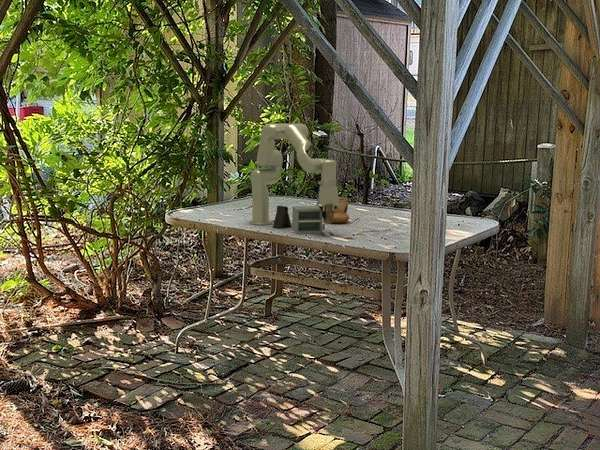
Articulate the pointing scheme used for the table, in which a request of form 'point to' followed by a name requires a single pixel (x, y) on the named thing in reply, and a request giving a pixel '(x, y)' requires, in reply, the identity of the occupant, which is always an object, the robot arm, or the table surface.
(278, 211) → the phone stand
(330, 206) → the tan rectangular block
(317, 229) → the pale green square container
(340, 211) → the ceramic jug
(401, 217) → the table surface
